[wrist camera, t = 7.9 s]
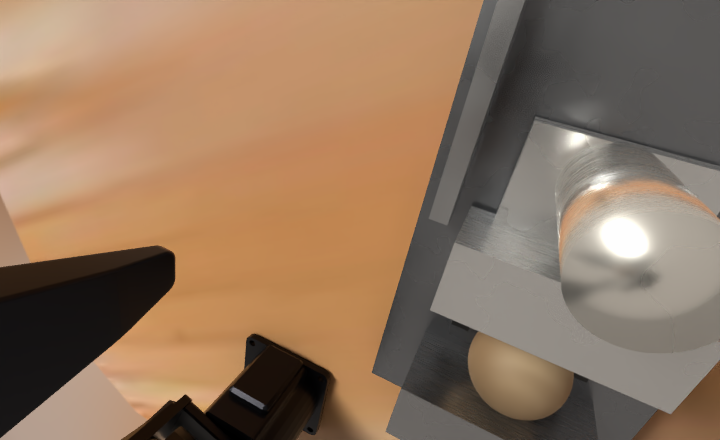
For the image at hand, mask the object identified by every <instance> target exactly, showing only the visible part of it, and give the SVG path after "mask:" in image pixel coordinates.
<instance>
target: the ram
mask: <svg viewBox="0 0 720 440" xmlns="http://www.w3.org/2000/svg"><path fill="white" fill-rule="evenodd" d="M719 212H720V166H718V165H714V164H710V163H707V162H703V161H699V160H696V159H692V158H688V157H684V156H681V155H677V154H673V153H670V152H666V151H662V150H658V149H655V148H651V147H647V146H644V145H640V144H636V143H632V142H629V141H625V140H621V139H618V138H614V137H610V136H606V135H603V134H599V133H595V132H592V131H588V130H584V129H580V128H577V127H573V126H569V125H566V124H562V123H558V122H554V121H551V120H547V119H543V118H540V117H536V116H535V119H534V121H533V124H532V126H531V129H530V131H529V133H528V136H527V138H526V141H525V143H524V146H523V148H522V151H521V153H520V156H519V158H518V161H517V163H516V165H515V168H514V170H513V173H512V175H511V178H510V180H509V183H508V185H507V188H506V190H505V192H504V195H503V197H502V200H501V202H500V205H499V207H498V210H497V212H496V214H494V213H491V212H488V211H486V210H483V209H480V208H477V207H474V206H471V208H470V210H469V212H468V214H467V217H466V219H465V221H464V223H463V225H462V227H461V230H460V232H459V234H458V236H457V238H456V240H455V243H454V245H453V248H452V251H451V254H450V256H449V259H448V262H447V265H446V267H445V270H444V273H443V276H442V278H441V281H440V284H439V287H438V289H437V292H436V295H435V297H434V300H433V303H432V306H431V308H430V310H431V311H433V312H435V313H438V314H440V315H442V316H445V317H447V318H449V319H452V320H454V321H456V322H458V323H461V324H463V325H465V326H468V327H470V328H472V329H475V330H477V331H479V332H482V333H484V334H486V335H489V336H491V337H493V338H495V339H498V340H500V341H502V342H505V343H507V344H509V345H512V346H514V347H516V348H519V349H521V350H523V351H526V352H528V353H530V354H532V355H535V356H537V357H539V358H542V359H544V360H546V361H549V362H551V363H553V364H556V365H558V366H560V367H563V368H565V369H567V370H569V371H572V372H574V373H576V374H579V375H581V376H583V377H586V378H588V379H590V380H593V381H595V382H597V383H600V384H602V385H604V386H606V387H609V388H611V389H613V390H616V391H618V392H620V393H623V394H625V395H627V396H630V397H632V398H634V399H637V400H639V401H641V402H643V403H646V404H648V405H650V406H653V407H655V408H657V409H660V410H662V411H664V412H667V413H669V414H671V413H672V412H673V411H674V410H675V409H676V408H677V407H678V406H679V405H680V403H681V402H682V401H683V400H684V399H685V398H686V397H687V396H688V395H689V393H690V392H691V391H692V390H693V389H694V388H695V387H696V386H697V385H698V384H699V382H700V381H701V380H702V379H703V378H704V377H705V376H706V375H707V374H708V372H709V371H710V370H711V369H712V368H713V367H714V366H715V365H716V364H717V362H718V361H719V360H720V219H719V218H718V217H717V215H718V213H719Z"/></svg>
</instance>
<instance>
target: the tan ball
mask: <svg viewBox="0 0 720 440" xmlns="http://www.w3.org/2000/svg"><path fill="white" fill-rule="evenodd" d="M468 369H469V374H470V378H471V381H472V383H473V385H474V387H475V389H476V391H477V392H478V394H479V395H480V397H481V398H482V399H483V400H484V401H485V402H486V403H487V404H488V405H489V406H490V407H492V408H493V409H494V410H496V411H497V412H499V413H501V414H503V415H505V416H507V417H510V418H513V419H518V420H537V419H542V418H545V417H547V416H549V415H551V414H553V413H554V412H556V411H557V410H558V409H560V408H561V407H562V405H563V404H564V403H565V402H566V400H567V398H568V397H569V395H570V392H571V389H572V386H573V379H574V372H572V371H569V370H567V369H565V368H563V367H560V366H558V365H556V364H553V363H551V362H549V361H546V360H544V359H542V358H539V357H537V356H535V355H532V354H530V353H528V352H526V351H523V350H521V349H519V348H516V347H514V346H512V345H509V344H507V343H505V342H502V341H500V340H498V339H495V338H493V337H491V336H489V335H486V334H484V333H482V332H479V331H478V332H477V334H476V335H475V337H474V339H473V340H472V343H471V345H470V348H469V353H468Z"/></svg>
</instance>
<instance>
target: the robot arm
mask: <svg viewBox="0 0 720 440" xmlns="http://www.w3.org/2000/svg"><path fill="white" fill-rule="evenodd" d="M174 282H175V255H174V253H173V252H172V251H170V250H168V249H166V248H164V247H162V246H149V247H142V248H135V249H128V250H121V251H114V252H106V253H99V254H92V255H85V256H78V257H71V258H64V259H56V260H49V261H42V262H35V263H29V264H21V265H14V266H6V267H0V438H1V437H2V436H3V435H5V434H6V433H7V432H8V431H9V430H11V429H12V428H13V427H14V426H15V425H17V424H18V423H19V422H20V421H21V420H23V419H24V418H25V417H26V416H27V415H29V414H30V413H31V412H32V411H33V410H35V409H36V408H37V407H38V406H40V405H41V404H42V403H43V402H44V401H45V400H47V399H48V398H49V397H50V396H51V395H53V394H54V393H55V392H56V391H58V390H59V389H60V388H61V387H62V386H64V385H65V384H66V383H67V382H68V381H70V380H71V379H72V378H73V377H75V376H76V375H77V374H78V373H79V372H80V371H82V370H83V369H84V368H85V367H87V366H88V365H89V364H90V363H91V362H93V361H94V360H95V359H96V358H97V357H99V356H100V355H101V354H102V353H103V352H105V351H106V350H107V349H108V348H110V347H111V346H112V345H113V344H114V343H115V342H117V341H118V340H119V339H120V338H121V337H122V336H123V335H124V334H126V333H127V332H128V331H129V330H130V329H131V328H132V327H133V326H134V325H135V324H136V323H137V322H138V321H139V320H140V319H141V318H142V317H143V316H144V315H145V314H146V313H147V312H148V311H149V310H150V309H151V308H152V307H153V306H154V305H155V304H156V303H157V302H158V301H159V300H160V299H161V298H162V297H163V296H164V295H165V294H166V293H167V292H168V291H169V290H170V289H171V288H172V286H173V284H174ZM329 381H330V375H329V373H328V372H327V371H326V370H324V369H322V368H320V367H318V366H316V365H314V364H312V363H310V362H309V361H307V360H305V359H303V358H301V357H299V356H297V355H295V354H293V353H291V352H289V351H287V350H285V349H283V348H281V347H279V346H278V345H276V344H274V343H272V342H270V341H268V340H266V339H264V338H262V337H260V336H258V335H256V334H251V335H250V336H249V337H248V338H247V340H246V353H245V367H244V370H243V371H242V372H241V373H240V374H239V375H238V376H237V377H236V379H235V380H234V381H233V382H232V383H231V384H230V385H229V386H228V387H227V388H226V389H225V390H224V391H223V392H222V394H221V395H220V396H219V397H218V398H217V399H216V400H215V401H214V402H213V403H212V404H211V405H210V406H209V407H208V409H207V410H206V411H205V412H204V413H203V412H202V411H201V410H200V409H199V408H198V407H197V406H196V405H195V404H193V403H192V399H191V398H189V397H188V396H187V395H186V394H185V395H184V396H183V397H182V398H180V399H179V400H178V401H177V402H175V401H171V400H169V401H168V402H167V403H166V404H165V405H164V406H163V407H162V408H161V409H160V410H159V411H158V412H157V413H155V414H154V415H153V416H152V417H151V418H150V419H149V420H148V421H146V422H145V423H144V424H143V425H141V426H140V427H138V428H137V429H136V430H134V431H133V432H131V433H130V434H128V435H127V436H126V437H124V438H123V439H121V440H297V438H298V437H299V435H300V433H301V432H302V430H303V431H305V432H307V433H308V434H311V435H315V434H316V432H317V431H318V429H319V425H320V421H321V416H322V412H323V408H324V403H325V399H326V395H327V390H328V386H329Z"/></svg>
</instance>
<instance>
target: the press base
mask: <svg viewBox="0 0 720 440" xmlns="http://www.w3.org/2000/svg"><path fill="white" fill-rule="evenodd" d="M535 116H536V117H540V118H543V119H547V120H551V121H554V122H558V123H562V124H566V125H569V126H573V127H577V128H580V129H584V130H588V131H592V132H595V133H599V134H603V135H606V136H610V137H614V138H618V139H621V140H625V141H629V142H632V143H636V144H640V145H644V146H647V147H651V148H655V149H658V150H662V151H666V152H670V153H673V154H677V155H681V156H684V157H688V158H692V159H696V160H699V161H703V162H707V163H710V164H714V165H718V166H720V0H484V1H483V5H482V8H481V11H480V15H479V18H478V21H477V25H476V28H475V31H474V35H473V38H472V41H471V45H470V48H469V51H468V55H467V58H466V61H465V65H464V68H463V71H462V75H461V78H460V81H459V85H458V88H457V91H456V94H455V98H454V101H453V104H452V108H451V111H450V114H449V118H448V121H447V124H446V128H445V131H444V134H443V138H442V141H441V144H440V148H439V151H438V154H437V158H436V161H435V164H434V168H433V171H432V174H431V178H430V181H429V184H428V188H427V191H426V194H425V198H424V201H423V204H422V207H421V211H420V214H419V217H418V221H417V224H416V227H415V231H414V234H413V237H412V241H411V244H410V247H409V251H408V254H407V257H406V261H405V264H404V267H403V271H402V274H401V277H400V281H399V284H398V287H397V291H396V294H395V297H394V301H393V304H392V307H391V311H390V314H389V317H388V320H387V324H386V327H385V330H384V334H383V337H382V340H381V344H380V347H379V350H378V354H377V357H376V360H375V364H374V367H373V370H372V373H374V374H376V375H378V376H380V377H382V378H384V379H386V380H388V381H390V382H392V383H394V384H396V385H398V386H400V387H402V388H401V391H400V393H399V396H398V399H397V402H396V404H395V407H394V410H393V413H392V415H391V418H390V421H389V424H388V426H387V429H386V432H387V433H389V434H391V435H393V436H395V437H396V438H398V439H400V440H632V439H633V437H634V436H635V435H636V434H637V433H638V432H639V431H640V429H641V428H642V427H643V426H644V425H645V424H646V422H647V421H648V420H649V419H650V418H651V417H652V416H653V414H654V413H655V412H656V411H657V410H658V409H657V408H655V407H653V406H650V405H648V404H646V403H643V402H641V401H639V400H637V399H634V398H632V397H630V396H627V395H625V394H623V393H620V392H618V391H616V390H613V389H611V388H609V387H606V386H604V385H602V384H600V383H597V382H595V381H593V380H590V379H588V378H586V377H583V376H581V375H579V374H576V373H574V379H573V386H572V389H571V392H570V395H569V397H568V398H567V400H566V402H565V403H564V404H563V405H562V407H561V408H560V409H558V410H557V411H556V412H554V413H553V414H551V415H549V416H547V417H545V418H542V419H537V420H518V419H513V418H510V417H507V416H505V415H503V414H501V413H499V412H497V411H496V410H494V409H493V408H492V407H490V406H489V405H488V404H487V403H486V402H485V401H484V400H483V399H482V398H481V397H480V395H479V394H478V392H477V391H476V389H475V387H474V385H473V383H472V381H471V378H470V374H469V369H468V353H469V348H470V345H471V343H472V340H473V339H474V337H475V335H476V334H477V332H478V331H477V330H475V329H472V328H470V327H468V326H465V325H463V324H461V323H458V322H456V321H454V320H452V319H449V318H447V317H445V316H442V315H440V314H438V313H435V312H433V311H431V310H430V308H431V306H432V303H433V300H434V297H435V295H436V292H437V289H438V287H439V284H440V281H441V278H442V276H443V273H444V270H445V267H446V265H447V262H448V259H449V256H450V254H451V251H452V248H453V245H454V243H455V240H456V238H457V236H458V234H459V232H460V230H461V227H462V225H463V223H464V221H465V219H466V217H467V214H468V212H469V210H470V208H471V206H474V207H477V208H480V209H483V210H486V211H488V212H491V213H494V214H496V212H497V210H498V207H499V205H500V202H501V200H502V197H503V195H504V192H505V190H506V188H507V185H508V183H509V180H510V178H511V175H512V173H513V170H514V168H515V165H516V163H517V161H518V158H519V156H520V153H521V151H522V148H523V146H524V143H525V141H526V138H527V136H528V133H529V131H530V129H531V126H532V124H533V121H534V119H535ZM717 217H718V218H719V219H720V212H719V213H718V215H717Z"/></svg>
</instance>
